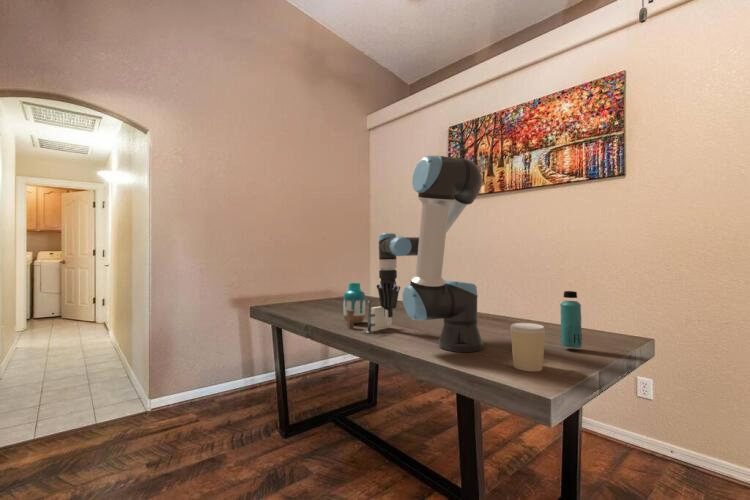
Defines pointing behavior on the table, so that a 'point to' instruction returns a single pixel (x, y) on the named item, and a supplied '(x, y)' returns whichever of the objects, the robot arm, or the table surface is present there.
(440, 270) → the robot arm
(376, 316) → the gate
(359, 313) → the vase
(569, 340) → the beverage bottle
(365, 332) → the hinge post
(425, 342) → the table surface
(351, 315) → the stile post
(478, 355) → the table surface
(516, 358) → the coffee cup
